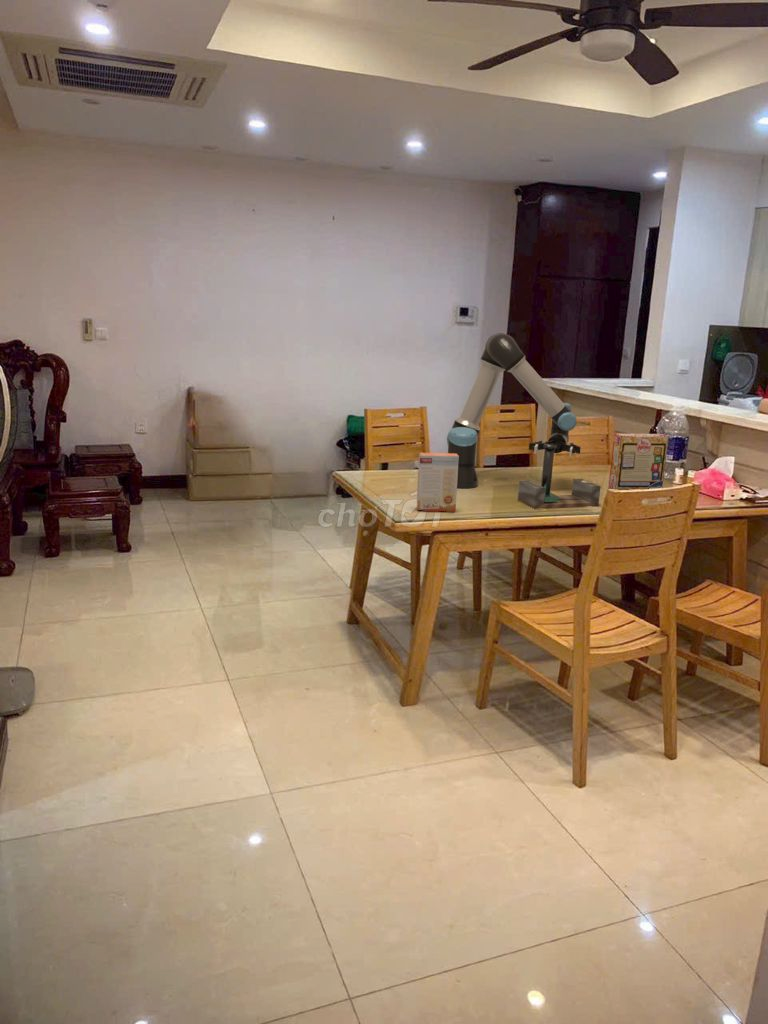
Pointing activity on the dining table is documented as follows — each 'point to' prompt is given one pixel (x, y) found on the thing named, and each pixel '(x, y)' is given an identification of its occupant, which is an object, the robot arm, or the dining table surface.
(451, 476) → the cracker box
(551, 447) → the green pole stand
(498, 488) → the dining table surface
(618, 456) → the board game box
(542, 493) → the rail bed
